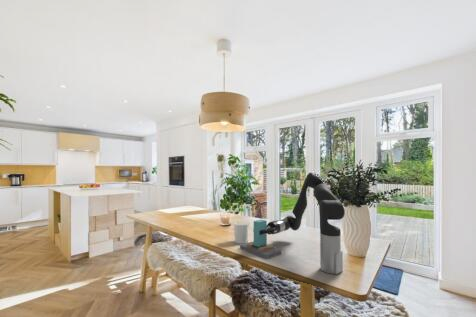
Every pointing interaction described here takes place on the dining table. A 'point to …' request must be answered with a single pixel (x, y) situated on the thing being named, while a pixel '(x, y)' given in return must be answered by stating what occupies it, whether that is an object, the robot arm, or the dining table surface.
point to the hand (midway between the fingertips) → (256, 231)
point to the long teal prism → (259, 239)
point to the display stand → (261, 250)
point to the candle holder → (241, 232)
